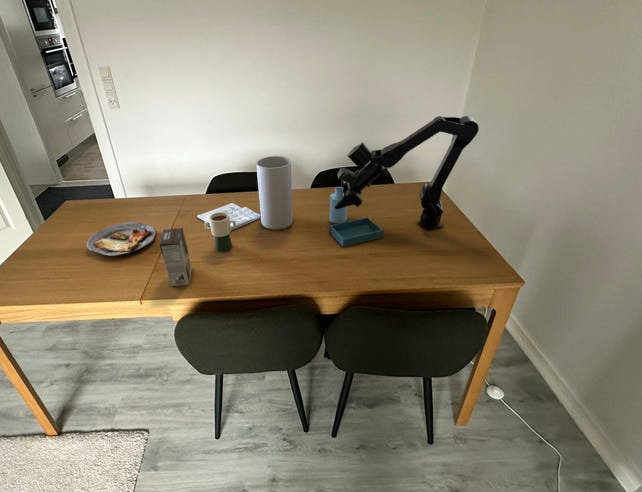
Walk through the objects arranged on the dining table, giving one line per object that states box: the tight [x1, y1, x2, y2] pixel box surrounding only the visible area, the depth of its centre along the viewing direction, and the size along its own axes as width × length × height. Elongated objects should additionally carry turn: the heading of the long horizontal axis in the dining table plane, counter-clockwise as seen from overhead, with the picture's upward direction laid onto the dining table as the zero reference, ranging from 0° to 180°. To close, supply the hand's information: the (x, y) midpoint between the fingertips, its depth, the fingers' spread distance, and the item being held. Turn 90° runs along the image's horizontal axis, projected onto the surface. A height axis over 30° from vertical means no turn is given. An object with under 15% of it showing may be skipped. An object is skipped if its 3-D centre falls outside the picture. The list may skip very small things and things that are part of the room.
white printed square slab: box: [197, 202, 261, 231], centre depth 155 cm, size 19×20×2 cm
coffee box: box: [158, 227, 193, 287], centre depth 119 cm, size 9×6×16 cm
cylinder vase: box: [255, 155, 294, 231], centre depth 143 cm, size 12×12×25 cm
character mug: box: [204, 212, 237, 252], centre depth 133 cm, size 11×7×13 cm, turn 90°
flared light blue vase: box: [329, 186, 348, 224], centre depth 144 cm, size 6×6×13 cm
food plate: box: [86, 221, 158, 257], centre depth 144 cm, size 25×23×4 cm
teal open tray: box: [328, 216, 384, 248], centre depth 138 cm, size 16×11×3 cm
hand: (334, 204), depth 144 cm, fingers closed on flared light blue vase, 6 cm apart
